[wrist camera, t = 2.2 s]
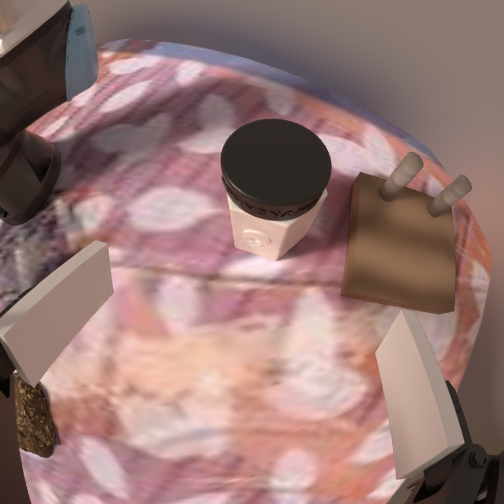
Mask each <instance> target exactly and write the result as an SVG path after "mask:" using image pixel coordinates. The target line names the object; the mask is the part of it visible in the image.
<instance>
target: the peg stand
mask: <svg viewBox="0 0 504 504" xmlns="http://www.w3.org/2000/svg"><path fill="white" fill-rule="evenodd" d="M423 165H424V164H423V161H422V159H421V158H420V156H419V155H417V154H416V153H414V152H409V153H407V155H406V156H405V157H404V159H403V160H402V161H401V163H400V164H399V165H398V167H397V168H396V169H395V170H394V172H393V173H392V174H391V176H390V177H389V178H388V179H387V180H384V179H381V178H378V177H375V176H372V175H369V174H365V173H362V172H360V173H359V175H358V176H357V178H356V180H355V181H354V183H353V184H352V197H351V212H350V224H349V235H348V245H347V254H346V262H345V270H344V278H343V285H342V292H341V296H344V297H349V298H354V299H359V300H365V301H370V302H375V303H380V304H385V305H391V306H396V307H401V308H407V309H412V310H418V311H424V312H429V313H435V314H443V313H448V312H452V311H454V304H455V243H454V229H453V218H452V209H451V206H452V205H454V204H455V203H456V202H457V201H459V200H460V199H461V198H462V197H464V196H465V195H466V194H467V193H468V192H469V191H471V189H472V186H471V183H470V181H469V180H468V178H467V177H466V176H464V175H460V176H459V177H458V178H457V179H456V180H455V181H453V182H452V183H451V184H450V185H449V186H448V187H447V188H446V189H445V190H444V191H442V192H441V193H440V194H439V195H438V196H437V197H436V198H434V197H431V196H429V195H426V194H424V193H421V192H418V191H416V190H413V189H410V188H408V187H406V185H407V184H408V183H409V182H410V181H411V180H412V179H413V178H414V177H415V176H416V174H417V173H418V172H419V171H420V170H421V169H422V168H423Z"/></svg>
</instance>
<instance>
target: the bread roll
mask: <svg viewBox="0 0 504 504" xmlns="http://www.w3.org/2000/svg"><path fill="white" fill-rule="evenodd" d="M13 374H14V375H15V407H16V424H17V434H18V443H19V448H20V449H21V450H24V451H27V452H32V453H33V454H37V455H38V456H40V457H44V458H46V457H48V456H49V455H50V454H51V451H52V446H51V445H53V444H54V442H55V433H54V430H53V424H52V420H51V419H50V416H49V413H48V410H47V400H46V396H45V395H44V394H43V391H42V389H41V387H40V386H39V384H38V383H37V385H36V386H35V387H32V386H31V385H30V384H28V383H27V382H26V381H24V380H23V379H22V378H21V376H20V375H19V373H13Z"/></svg>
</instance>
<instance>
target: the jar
mask: <svg viewBox="0 0 504 504" xmlns="http://www.w3.org/2000/svg"><path fill="white" fill-rule="evenodd" d="M331 168H332V165H331V158H330V155H329V152H328V150H327V148H326V146H325V145H324V143H323V142H322V141H321V140H320V138H319V137H318V136H317V135H315V134H314V133H313V132H312V131H310V130H309V129H307V128H306V127H304V126H302V125H300V124H297V123H294V122H291V121H287V120H282V119H262V120H257V121H253V122H250V123H248V124H245V125H243V126H242V127H240V128H239V129H237V130H236V131H235V132H233V133H232V134H231V135H230V136H229V138H228V139H227V141H226V142H225V144H224V146H223V149H222V152H221V169H222V176H223V177H222V181H223V184H224V187H225V191H226V197H227V204H228V211H229V217H230V222H231V228H232V234H233V239H234V245H235V247H236V248H238V249H241V250H244V251H247V252H250V253H253V254H256V255H259V256H262V257H265V258H268V259H271V260H274V261H276V260H278V259H279V258H280V257H281V256H283V255H284V254H285V253H286V252H287V251H288V250H290V249H291V248H292V247H293V246H294V245H295V244H296V243H298V242H299V241H300V240H301V239H302V238H303V237H305V236H306V234H307V232H308V230H309V229H310V227H311V225H312V223H313V221H314V219H315V217H316V215H317V214H318V212H319V210H320V208H321V206H322V204H323V202H324V200H325V198H326V197H327V194H328V193H327V190H326V186H327V184H328V181H329V179H330V176H331Z"/></svg>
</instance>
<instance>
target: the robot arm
mask: <svg viewBox="0 0 504 504" xmlns="http://www.w3.org/2000/svg"><path fill="white" fill-rule="evenodd" d="M98 72H99V66H98V56H97V48H96V41H95V36H94V30H93V25H92V20H91V16H90V12H89V10H88V6H87V5H86V4H85V3H82V4H76V5H75V6H74V7H72V6H71V5H70V2H69V0H0V219H1V220H3V221H4V222H6V223H7V224H9V225H19V224H21V223H23V222H25V221H26V220H28V219H29V218H30V217H32V216H33V215H34V214H35V213H36V212H37V211H38V209H39V208H40V207H41V206H42V204H43V203H44V202H45V200H46V199H47V197H48V196H49V194H50V192H51V190H52V189H53V187H54V184H55V182H56V180H57V177H58V174H59V170H60V164H61V157H60V153H59V151H58V150H57V149H56V147H55V146H54V145H53V144H52V143H51V142H50V141H49V140H47V139H45V138H43V137H41V136H39V135H37V134H34V133H32V132H30V131H28V130H27V129H26V128H27V127H28V126H29V125H31V124H32V123H34V122H35V121H36V120H38V119H39V118H41V117H42V116H44V115H45V114H47V113H48V112H50V111H51V110H53V109H55V108H56V107H58V106H59V105H61V104H63V103H64V102H66V101H68V102H69V101H71V100H72V98H73V97H75V96H77V95H78V94H80V93H82V92H83V91H85V90H87V89H88V88H90V87H91V86H92V85H93V84H94V83H95V82H96V80H97V77H98ZM113 293H114V292H113V285H112V277H111V269H110V260H109V250H108V244H107V243H104V242H100V241H96V240H95V241H94V242H92V243H91V244H90V245H88V246H87V247H86V248H84V249H83V250H81V251H80V252H79V253H77V254H76V255H75V256H73V257H72V258H71V259H69V260H68V261H67V262H65V263H64V264H63V265H62V266H60V267H59V268H58V269H56V270H55V271H54V272H53V273H51V274H50V275H49V276H48V277H47V278H45V279H44V280H43V281H42V282H40V283H39V284H38V285H36V286H33V287H31V288H29V289H27V290H26V291H24V292H23V293H22V294H21V295H20V296H19V297H18V299H15V300H14V301H13V302H12V304H11V305H9V306H7V307H6V308H5V309H4V310H3V311H2V312H1V313H0V504H31V501H30V498H29V494H28V490H27V486H26V482H25V478H24V473H23V468H22V463H21V457H20V450H19V443H18V434H17V424H16V407H15V375H14V374H13V372H14V371H15V369H16V370H17V372H18V373H19V375H20V376H21V378H22V379H23V380H24V381H26V382H27V383H28V384H30V385H31V386H32V387H35V386H36V385H37V383H38V382H39V381H40V379H41V378H42V377H43V375H44V374H45V373H46V371H47V370H48V369H49V368H50V366H51V365H52V364H53V363H54V361H55V360H56V359H57V358H58V356H59V355H60V354H61V353H62V351H63V350H64V349H65V348H66V347H67V345H68V344H69V343H70V342H71V341H72V339H73V338H74V337H75V336H76V335H77V333H78V332H79V331H80V330H81V329H82V328H83V326H84V325H85V324H86V323H87V322H88V321H89V320H90V318H91V317H92V316H93V315H94V314H95V313H96V312H97V311H98V309H99V308H100V307H101V306H102V305H103V304H104V303H105V302H106V301H107V300H108V298H109V297H110V296H111V295H112V294H113ZM375 355H376V359H377V363H378V367H379V372H380V376H381V381H382V386H383V391H384V396H385V401H386V406H387V412H388V418H389V424H390V430H391V437H392V444H393V451H394V460H395V469H396V480H398V479H404V478H410V477H414V476H416V475H417V474H419V473H421V472H422V471H424V477H422V478H420V479H418V480H417V481H415V482H413V483H411V484H409V485H408V486H407V489H409V488H411V487H413V486H415V485H416V487H415V488H414V489H412V490H411V491H412V493H411V495H410V496H409V498H408V499H407V501H406V502H405V504H504V451H502V452H501V453H500V454H498V455H488V454H486V452H485V450H484V449H483V447H482V446H480V445H477V444H473V443H472V440H471V437H470V433H469V430H468V427H467V423H466V420H465V417H464V414H463V412H462V408H461V405H460V403H459V399H458V396H457V394H456V391H455V389H454V388H453V386H452V385H451V384H450V382H449V381H445V380H444V377H443V375H442V372H441V370H440V367H439V365H438V362H437V360H436V357H435V355H434V353H433V350H432V348H431V346H430V343H429V341H428V339H427V337H426V335H425V332H424V330H423V328H422V326H421V324H420V322H419V320H418V318H417V316H416V314H415V312H414V311H409V310H403V309H401V310H400V312H399V314H398V315H397V317H396V319H395V321H394V323H393V324H392V326H391V328H390V330H389V331H388V333H387V335H386V336H385V338H384V340H383V341H382V343H381V345H380V346H379V348H378V349H377V351H376V353H375ZM486 491H487V495H486V498H484V499H482V500H480V501H479V500H478V496H479V495H481V494H482V493H484V492H486Z"/></svg>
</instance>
